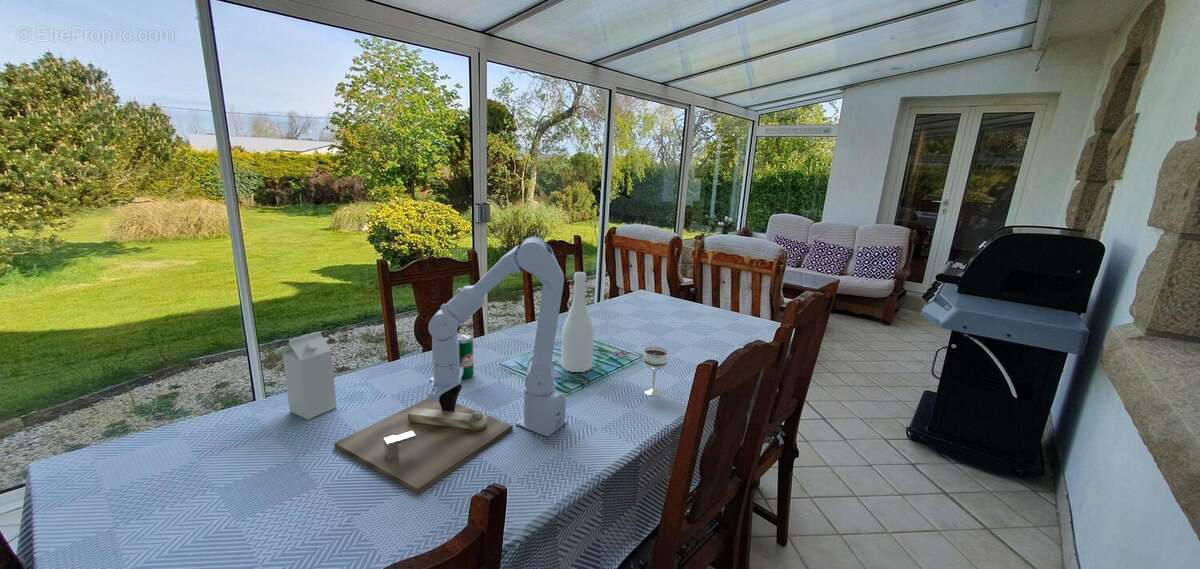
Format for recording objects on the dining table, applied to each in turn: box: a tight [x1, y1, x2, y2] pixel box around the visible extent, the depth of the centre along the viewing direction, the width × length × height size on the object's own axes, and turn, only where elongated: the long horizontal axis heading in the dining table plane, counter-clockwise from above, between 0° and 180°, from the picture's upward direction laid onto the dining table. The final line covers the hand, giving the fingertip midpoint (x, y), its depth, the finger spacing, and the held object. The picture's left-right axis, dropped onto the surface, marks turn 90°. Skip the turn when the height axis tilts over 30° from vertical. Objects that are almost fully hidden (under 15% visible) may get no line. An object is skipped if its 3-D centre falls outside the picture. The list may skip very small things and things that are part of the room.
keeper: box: [384, 431, 416, 461], centre depth 92 cm, size 6×2×4 cm, turn 130°
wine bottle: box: [561, 271, 595, 373], centre depth 137 cm, size 10×10×30 cm
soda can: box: [458, 334, 475, 380], centre depth 130 cm, size 5×5×12 cm
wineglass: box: [642, 346, 669, 396], centre depth 126 cm, size 7×7×12 cm
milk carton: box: [282, 331, 338, 421], centre depth 107 cm, size 7×7×19 cm
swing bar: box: [408, 407, 487, 431], centre depth 104 cm, size 18×4×3 cm, turn 82°
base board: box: [334, 397, 514, 495], centre depth 100 cm, size 26×26×1 cm
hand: (448, 415), depth 106 cm, fingers closed
